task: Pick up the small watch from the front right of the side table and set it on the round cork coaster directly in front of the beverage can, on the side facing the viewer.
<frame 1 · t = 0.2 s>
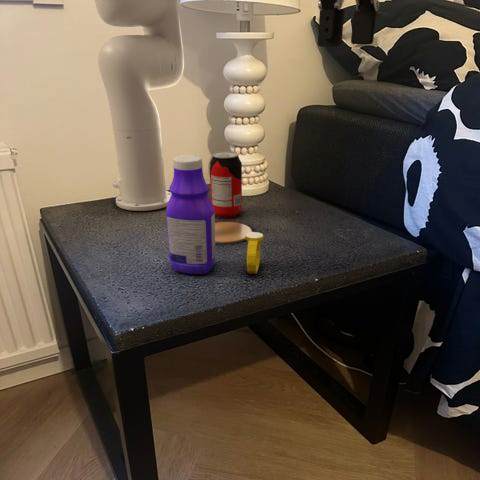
hand: (346, 45, 65), 31 cm above the table, tool pointing down, fingers open, 9 cm apart
beverage can: (226, 214, 98), on the table
watch: (253, 271, 76), on the table
coaster: (225, 233, 89), on the table
bottle: (193, 269, 76), on the table
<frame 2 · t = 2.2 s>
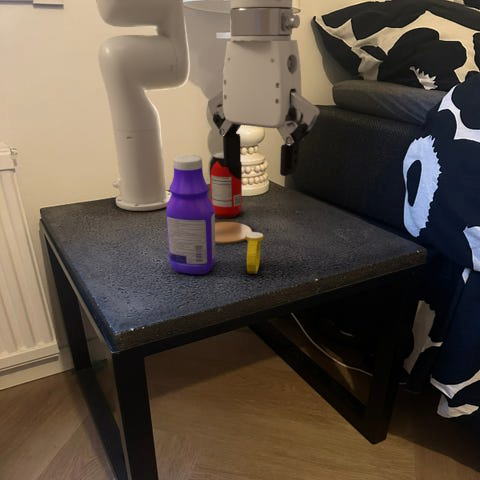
hand: (259, 168, 67), 16 cm above the table, tool pointing down, fingers open, 9 cm apart
nothing on the table moved.
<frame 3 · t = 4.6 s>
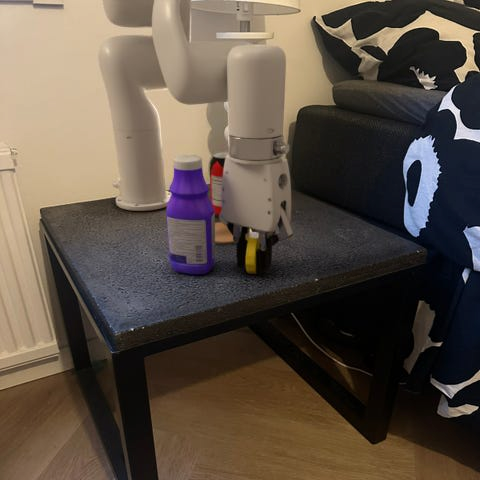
hand: (253, 266, 75), 1 cm above the table, tool pointing down, fingers closed on watch, 3 cm apart
watch: (253, 271, 76), on the table, touching gripper
everything else where it was.
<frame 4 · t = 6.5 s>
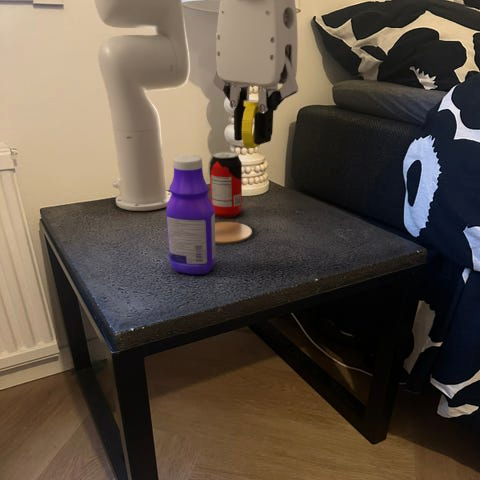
hand: (252, 139, 66), 20 cm above the table, tool pointing down, fingers closed on watch, 2 cm apart
watch: (252, 148, 66), point 19 cm above the table, touching gripper
everything else where it was.
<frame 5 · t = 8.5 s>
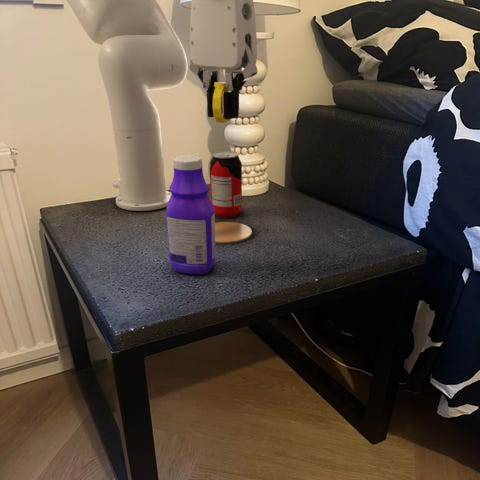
hand: (223, 116, 78), 21 cm above the table, tool pointing down, fingers closed on watch, 2 cm apart
watch: (223, 123, 78), point 19 cm above the table, touching gripper
everything else where it was.
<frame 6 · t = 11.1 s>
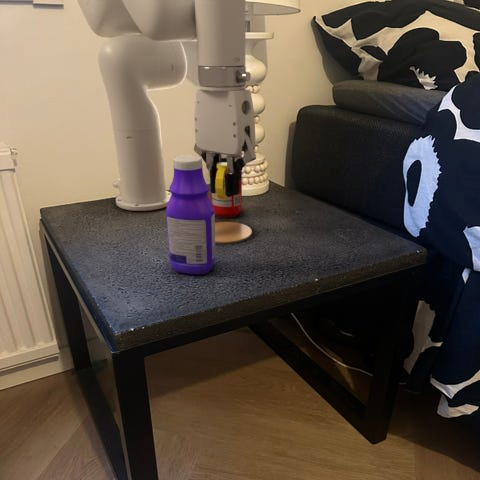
hand: (224, 192, 85), 8 cm above the table, tool pointing down, fingers closed on watch, 2 cm apart
watch: (225, 198, 85), point 7 cm above the table, touching gripper
everything else where it was.
when the fingers open (1 cm above the table, at t = 12.8 s): watch stays where it is, resting on coaster.
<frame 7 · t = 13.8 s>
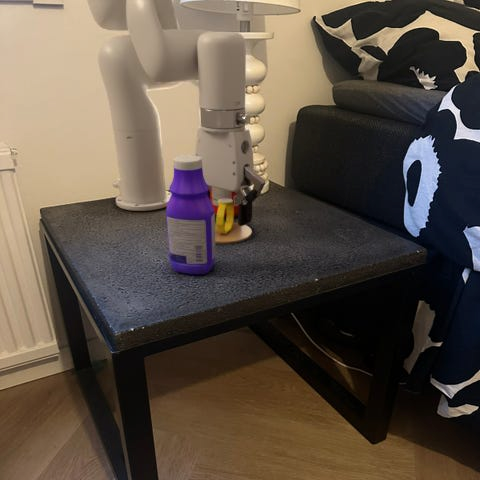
hand: (224, 217, 88), 3 cm above the table, tool pointing down, fingers open, 9 cm apart
watch: (225, 232, 89), resting on coaster
everything else where it was.
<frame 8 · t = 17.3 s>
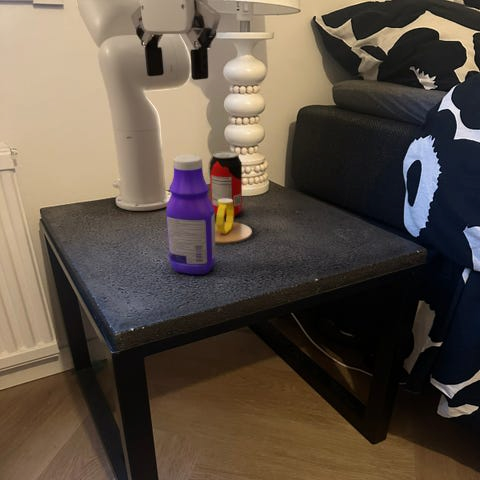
hand: (177, 77, 75), 26 cm above the table, tool pointing down, fingers open, 9 cm apart
nothing on the table moved.
at the end: watch 0.2 cm from the target spot on the table beside the beverage can, on the table; watch tilted 0°; the gripper is holding nothing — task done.
